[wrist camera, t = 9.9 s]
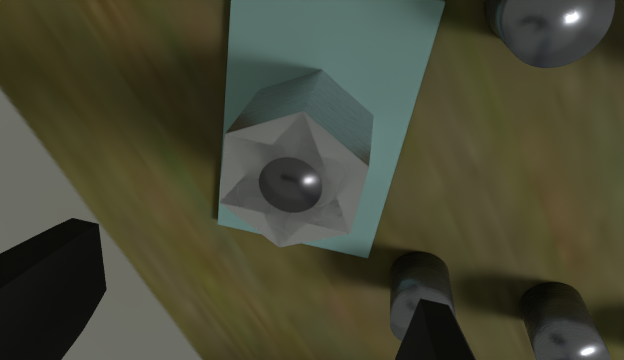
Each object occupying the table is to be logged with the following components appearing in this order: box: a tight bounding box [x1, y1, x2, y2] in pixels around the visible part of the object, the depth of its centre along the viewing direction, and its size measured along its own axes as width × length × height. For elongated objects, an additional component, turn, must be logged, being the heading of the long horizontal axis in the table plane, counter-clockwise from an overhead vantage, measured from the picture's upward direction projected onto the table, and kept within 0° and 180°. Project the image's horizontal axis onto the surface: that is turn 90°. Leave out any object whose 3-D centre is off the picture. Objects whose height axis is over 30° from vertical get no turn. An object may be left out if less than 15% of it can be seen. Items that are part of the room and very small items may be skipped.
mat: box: [218, 0, 445, 258], centre depth 17 cm, size 11×7×1 cm, turn 171°
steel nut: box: [220, 70, 374, 247], centre depth 15 cm, size 5×4×4 cm
